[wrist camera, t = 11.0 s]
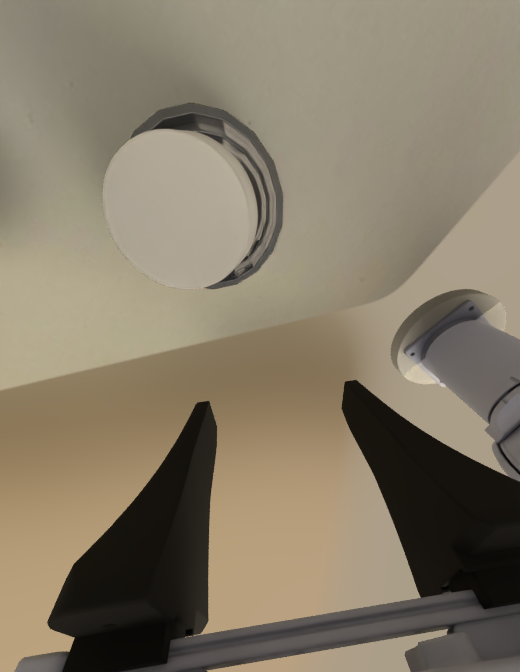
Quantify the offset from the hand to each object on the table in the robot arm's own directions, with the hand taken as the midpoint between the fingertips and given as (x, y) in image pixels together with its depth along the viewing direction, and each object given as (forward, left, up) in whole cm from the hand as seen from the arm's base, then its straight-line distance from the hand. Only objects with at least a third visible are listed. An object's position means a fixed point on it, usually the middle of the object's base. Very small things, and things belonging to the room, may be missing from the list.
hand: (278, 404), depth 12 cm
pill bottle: (+8, -4, -10) cm, 14 cm away
